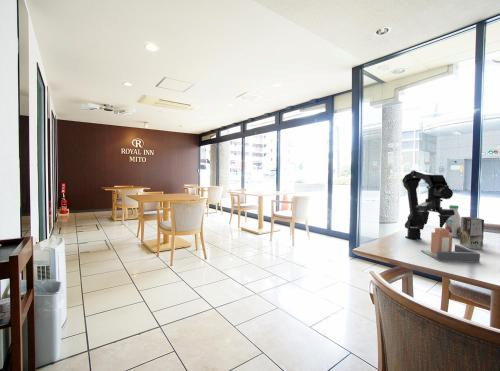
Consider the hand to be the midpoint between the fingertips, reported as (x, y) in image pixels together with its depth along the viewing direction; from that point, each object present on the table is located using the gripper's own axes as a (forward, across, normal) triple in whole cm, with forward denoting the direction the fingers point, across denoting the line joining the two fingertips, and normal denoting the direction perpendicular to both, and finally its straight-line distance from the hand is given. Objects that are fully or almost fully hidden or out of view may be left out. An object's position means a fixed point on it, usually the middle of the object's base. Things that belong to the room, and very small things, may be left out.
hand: (432, 225), depth 139 cm
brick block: (+11, +12, -8) cm, 18 cm away
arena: (+12, +14, -6) cm, 19 cm away
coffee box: (+12, +3, +23) cm, 26 cm away
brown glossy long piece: (+12, -6, +34) cm, 37 cm away
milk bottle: (+12, -18, +36) cm, 42 cm away
